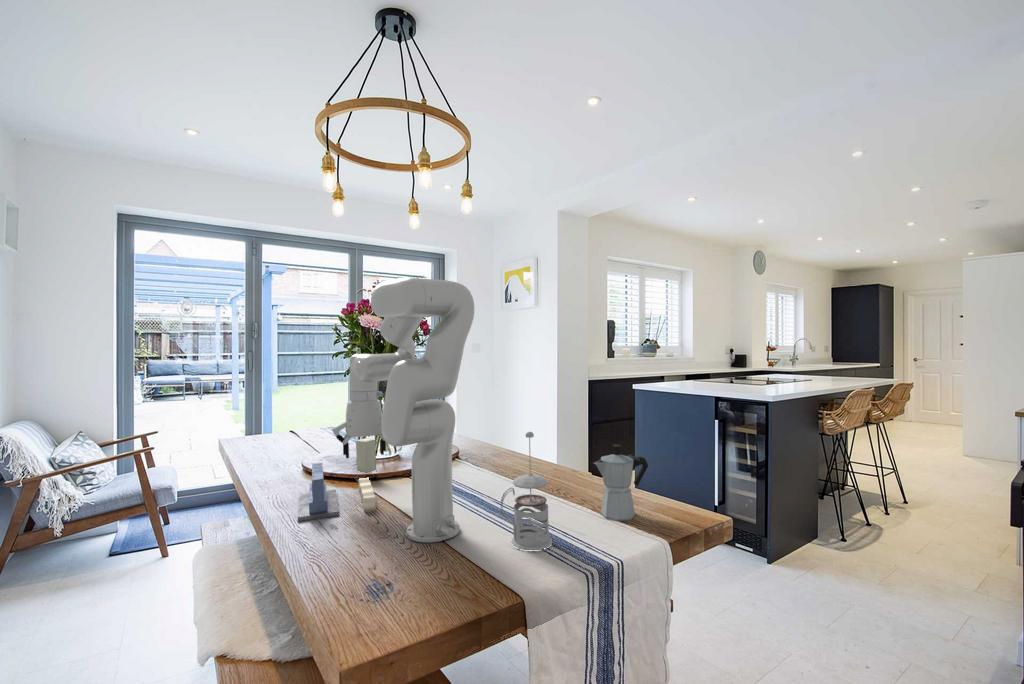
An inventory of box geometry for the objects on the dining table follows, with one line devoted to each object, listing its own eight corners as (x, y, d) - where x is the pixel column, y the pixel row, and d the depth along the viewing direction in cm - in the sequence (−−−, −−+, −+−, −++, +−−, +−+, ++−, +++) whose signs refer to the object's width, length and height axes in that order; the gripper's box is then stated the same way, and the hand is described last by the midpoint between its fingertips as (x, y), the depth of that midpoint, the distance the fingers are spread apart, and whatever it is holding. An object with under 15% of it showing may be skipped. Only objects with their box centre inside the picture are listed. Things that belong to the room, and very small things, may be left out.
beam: (375, 511, 131) (375, 496, 131) (364, 513, 130) (363, 498, 130) (368, 490, 149) (368, 477, 149) (358, 491, 148) (358, 478, 148)
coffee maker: (601, 523, 119) (599, 450, 118) (588, 511, 127) (587, 443, 127) (656, 517, 122) (655, 446, 121) (640, 505, 130) (639, 439, 130)
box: (377, 477, 162) (376, 439, 161) (366, 481, 158) (366, 441, 158) (366, 475, 164) (365, 437, 164) (356, 478, 161) (355, 440, 161)
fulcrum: (339, 515, 127) (338, 478, 127) (297, 522, 123) (296, 483, 123) (335, 493, 146) (335, 460, 146) (299, 498, 142) (298, 464, 142)
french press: (557, 550, 104) (554, 435, 104) (503, 553, 103) (501, 437, 103) (549, 532, 114) (547, 426, 114) (500, 535, 113) (498, 428, 113)
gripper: (392, 393, 146) (393, 449, 146) (331, 396, 139) (332, 455, 140) (396, 396, 139) (397, 455, 140) (332, 400, 132) (333, 462, 133)
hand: (364, 455), depth 140 cm, fingers open, 9 cm apart
